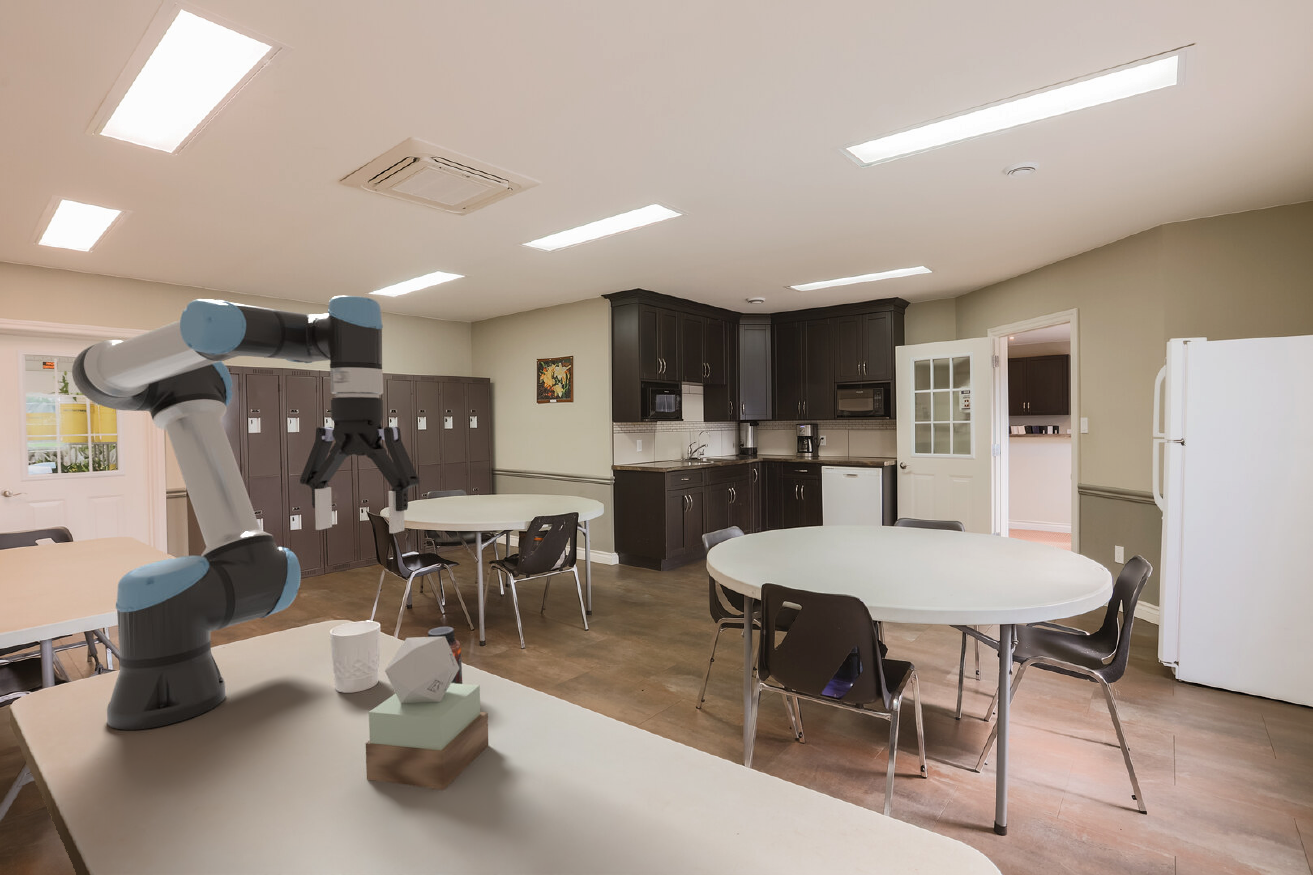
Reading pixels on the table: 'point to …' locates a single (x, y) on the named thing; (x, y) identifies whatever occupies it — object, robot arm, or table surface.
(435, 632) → the supplement bottle
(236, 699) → the table surface
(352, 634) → the white cup
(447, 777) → the walnut slab
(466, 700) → the sage block
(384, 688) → the table surface
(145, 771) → the table surface
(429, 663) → the die
